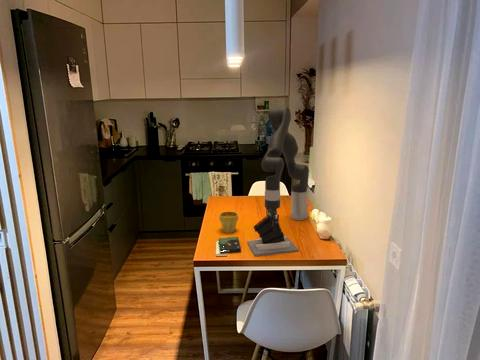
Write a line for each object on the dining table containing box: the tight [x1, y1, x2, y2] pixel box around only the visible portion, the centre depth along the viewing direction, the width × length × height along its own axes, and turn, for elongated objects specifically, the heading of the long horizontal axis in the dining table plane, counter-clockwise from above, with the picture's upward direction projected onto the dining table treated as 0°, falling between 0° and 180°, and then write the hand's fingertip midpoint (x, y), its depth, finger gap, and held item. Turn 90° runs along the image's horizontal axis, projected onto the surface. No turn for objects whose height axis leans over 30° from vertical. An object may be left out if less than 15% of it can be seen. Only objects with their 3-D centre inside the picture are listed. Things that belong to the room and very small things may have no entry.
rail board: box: [246, 235, 299, 257], centre depth 185 cm, size 22×16×4 cm
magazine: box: [253, 215, 285, 244], centre depth 184 cm, size 4×13×15 cm
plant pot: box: [218, 210, 239, 234], centre depth 207 cm, size 10×10×10 cm
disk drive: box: [218, 236, 242, 255], centre depth 187 cm, size 10×3×15 cm
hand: (272, 230), depth 184 cm, fingers open, 5 cm apart
